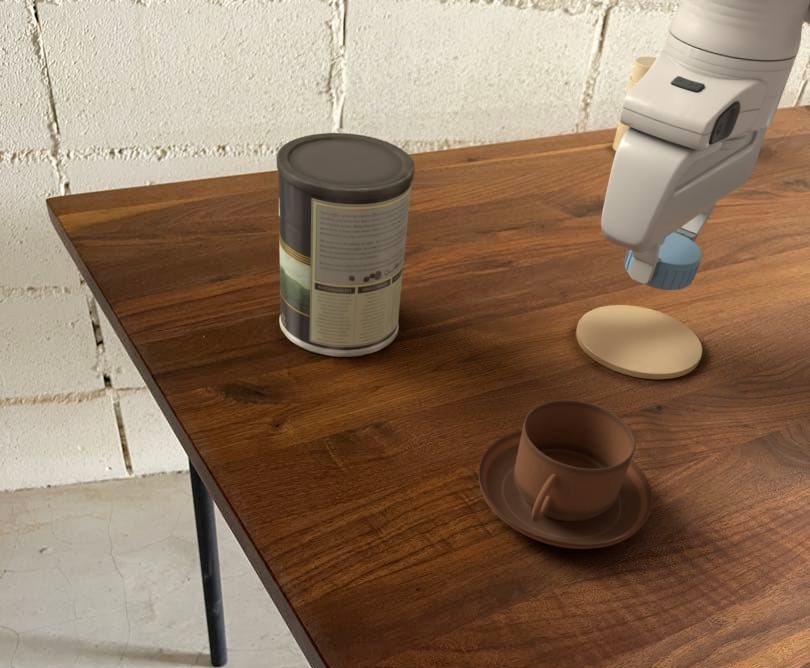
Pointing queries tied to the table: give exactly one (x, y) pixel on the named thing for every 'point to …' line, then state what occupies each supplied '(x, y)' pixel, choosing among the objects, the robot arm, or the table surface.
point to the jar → (638, 72)
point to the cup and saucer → (568, 477)
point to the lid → (673, 263)
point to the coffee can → (342, 241)
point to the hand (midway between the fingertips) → (661, 264)
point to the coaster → (639, 342)
